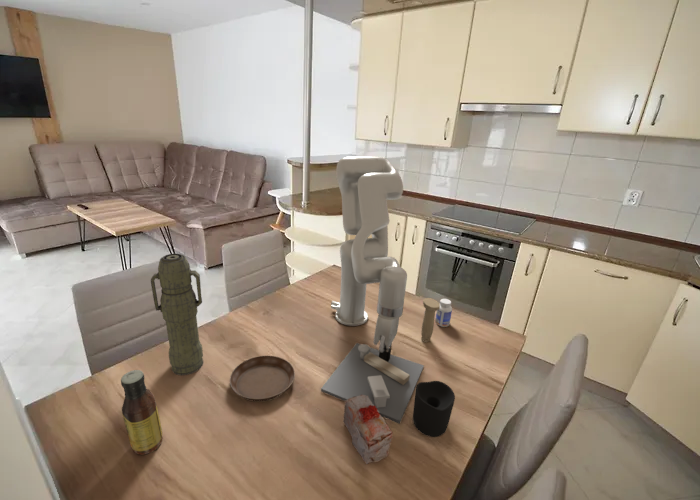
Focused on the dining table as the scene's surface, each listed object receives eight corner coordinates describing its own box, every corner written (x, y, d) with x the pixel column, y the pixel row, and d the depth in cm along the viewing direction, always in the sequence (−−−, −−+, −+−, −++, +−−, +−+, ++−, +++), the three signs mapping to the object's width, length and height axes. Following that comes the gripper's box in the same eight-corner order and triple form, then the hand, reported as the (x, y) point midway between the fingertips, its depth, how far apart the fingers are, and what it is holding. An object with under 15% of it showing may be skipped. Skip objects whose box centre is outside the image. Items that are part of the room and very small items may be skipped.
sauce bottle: (140, 433, 80) (125, 363, 73) (168, 432, 81) (156, 363, 74) (125, 458, 74) (107, 386, 67) (155, 457, 75) (141, 385, 68)
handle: (427, 333, 125) (432, 297, 119) (436, 344, 119) (442, 306, 114) (415, 335, 123) (420, 298, 118) (424, 346, 118) (430, 308, 112)
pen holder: (418, 403, 94) (423, 374, 90) (452, 419, 89) (459, 388, 86) (405, 427, 86) (410, 396, 82) (442, 446, 82) (448, 414, 78)
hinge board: (320, 391, 96) (321, 377, 94) (356, 345, 116) (357, 333, 114) (399, 424, 87) (401, 409, 85) (423, 367, 107) (425, 355, 106)
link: (363, 361, 107) (364, 356, 106) (369, 356, 109) (370, 352, 108) (403, 385, 98) (404, 380, 97) (409, 379, 100) (409, 374, 100)
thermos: (211, 368, 102) (199, 259, 89) (166, 380, 96) (146, 266, 84) (207, 351, 109) (195, 248, 96) (165, 361, 104) (147, 253, 91)
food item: (394, 458, 78) (399, 426, 74) (364, 473, 74) (367, 439, 71) (365, 414, 89) (368, 384, 86) (337, 425, 86) (339, 394, 82)
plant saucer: (272, 355, 109) (272, 347, 108) (307, 385, 98) (307, 377, 97) (219, 381, 98) (218, 372, 97) (251, 419, 86) (250, 410, 85)
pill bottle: (450, 321, 133) (454, 299, 130) (448, 328, 129) (452, 306, 125) (436, 318, 135) (440, 296, 132) (433, 324, 131) (437, 302, 127)
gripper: (385, 294, 108) (380, 342, 115) (369, 316, 95) (364, 369, 102) (409, 299, 105) (402, 349, 112) (395, 323, 93) (388, 378, 99)
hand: (384, 358), depth 107 cm, fingers closed
